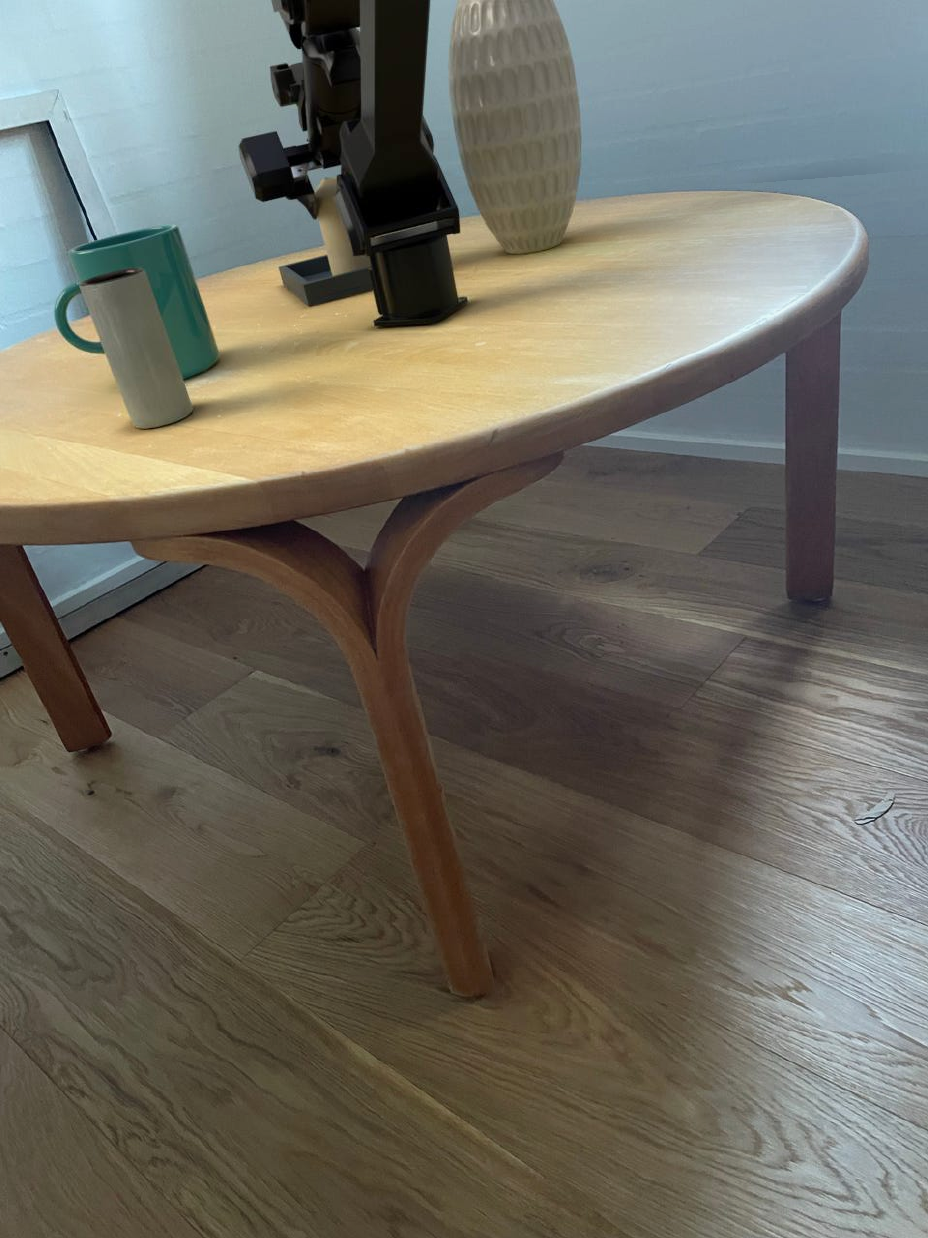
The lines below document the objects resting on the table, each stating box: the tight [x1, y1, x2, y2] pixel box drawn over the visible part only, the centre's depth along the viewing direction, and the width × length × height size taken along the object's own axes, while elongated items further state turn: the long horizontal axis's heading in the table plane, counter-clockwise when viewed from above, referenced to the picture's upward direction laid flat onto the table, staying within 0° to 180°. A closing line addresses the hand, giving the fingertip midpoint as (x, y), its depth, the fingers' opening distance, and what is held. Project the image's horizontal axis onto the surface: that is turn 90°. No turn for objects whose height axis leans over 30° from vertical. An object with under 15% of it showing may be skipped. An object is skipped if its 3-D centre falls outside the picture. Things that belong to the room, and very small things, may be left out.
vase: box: [447, 0, 582, 255], centre depth 92 cm, size 13×13×28 cm
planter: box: [79, 267, 194, 430], centre depth 66 cm, size 4×4×10 cm
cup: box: [53, 224, 220, 380], centre depth 77 cm, size 9×12×11 cm
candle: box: [314, 175, 375, 276], centre depth 99 cm, size 6×6×10 cm
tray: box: [278, 254, 373, 308], centre depth 101 cm, size 16×15×2 cm
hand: (339, 209), depth 99 cm, fingers closed on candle, 5 cm apart
